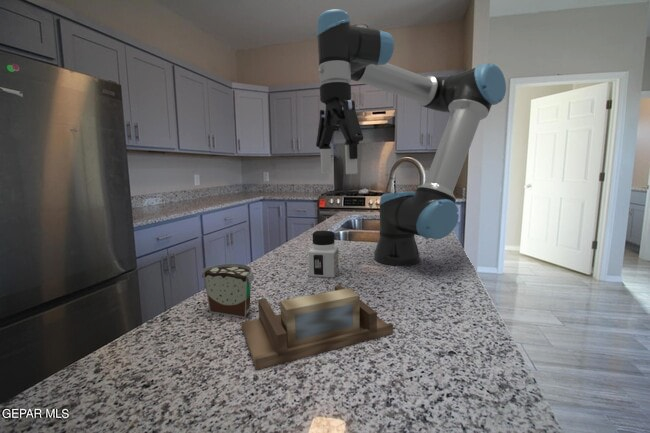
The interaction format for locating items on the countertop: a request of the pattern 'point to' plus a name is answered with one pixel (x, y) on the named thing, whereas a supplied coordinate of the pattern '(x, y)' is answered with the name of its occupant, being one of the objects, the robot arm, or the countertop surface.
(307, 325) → the tan rectangular block
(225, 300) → the food container
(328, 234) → the container
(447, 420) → the countertop surface
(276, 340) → the wooden slatted panel
